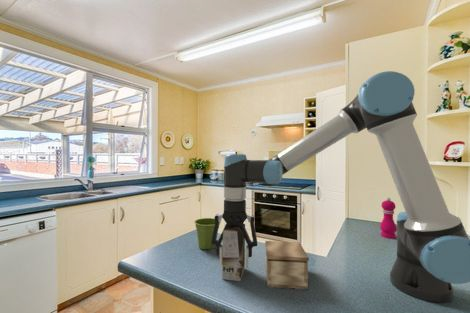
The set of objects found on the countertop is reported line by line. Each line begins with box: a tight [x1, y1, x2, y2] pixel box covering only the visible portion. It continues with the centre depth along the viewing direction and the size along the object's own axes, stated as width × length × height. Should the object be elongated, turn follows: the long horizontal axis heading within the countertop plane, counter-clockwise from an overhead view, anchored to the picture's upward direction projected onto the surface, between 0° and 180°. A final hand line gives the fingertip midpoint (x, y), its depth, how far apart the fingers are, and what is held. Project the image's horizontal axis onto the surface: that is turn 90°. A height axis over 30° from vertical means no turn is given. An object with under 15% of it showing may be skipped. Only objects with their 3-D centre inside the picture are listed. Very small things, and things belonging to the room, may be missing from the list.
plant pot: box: [193, 217, 222, 250], centre depth 101 cm, size 12×12×11 cm
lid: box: [264, 240, 310, 262], centre depth 77 cm, size 12×14×1 cm
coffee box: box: [221, 223, 246, 282], centre depth 78 cm, size 9×6×16 cm
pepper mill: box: [379, 197, 397, 239], centre depth 117 cm, size 7×7×20 cm
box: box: [265, 252, 309, 290], centre depth 77 cm, size 12×14×8 cm
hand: (234, 265), depth 78 cm, fingers open, 8 cm apart
